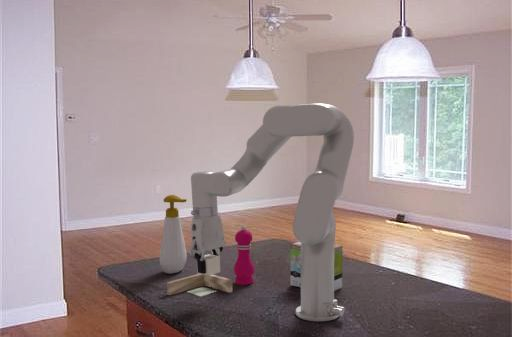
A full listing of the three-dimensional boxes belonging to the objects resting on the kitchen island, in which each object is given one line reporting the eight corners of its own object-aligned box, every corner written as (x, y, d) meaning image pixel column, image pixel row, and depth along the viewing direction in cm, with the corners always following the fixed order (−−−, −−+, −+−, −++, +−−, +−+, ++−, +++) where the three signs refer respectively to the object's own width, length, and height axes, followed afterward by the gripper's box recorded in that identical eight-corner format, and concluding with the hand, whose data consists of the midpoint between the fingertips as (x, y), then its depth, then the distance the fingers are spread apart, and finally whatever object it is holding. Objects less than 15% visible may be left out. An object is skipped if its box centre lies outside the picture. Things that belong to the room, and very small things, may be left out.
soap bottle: (177, 278, 194) (175, 197, 192) (154, 274, 199) (151, 196, 196) (196, 269, 205) (195, 193, 203) (174, 266, 210) (172, 192, 208)
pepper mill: (252, 286, 183) (251, 227, 182) (231, 285, 185) (230, 227, 183) (256, 280, 190) (255, 224, 189) (236, 279, 192) (235, 223, 190)
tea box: (289, 286, 183) (289, 243, 182) (307, 279, 190) (307, 238, 189) (325, 295, 173) (325, 249, 171) (343, 288, 180) (343, 244, 179)
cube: (220, 272, 166) (219, 256, 165) (208, 275, 162) (207, 259, 162) (209, 269, 169) (208, 254, 169) (197, 273, 165) (196, 257, 165)
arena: (232, 291, 177) (232, 279, 177) (195, 303, 166) (195, 291, 165) (204, 283, 187) (203, 272, 186) (167, 294, 175) (166, 282, 175)
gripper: (192, 217, 156) (195, 279, 157) (233, 209, 168) (237, 266, 169) (175, 215, 161) (179, 275, 162) (217, 207, 173) (220, 263, 174)
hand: (208, 270), depth 165 cm, fingers closed on cube, 5 cm apart
